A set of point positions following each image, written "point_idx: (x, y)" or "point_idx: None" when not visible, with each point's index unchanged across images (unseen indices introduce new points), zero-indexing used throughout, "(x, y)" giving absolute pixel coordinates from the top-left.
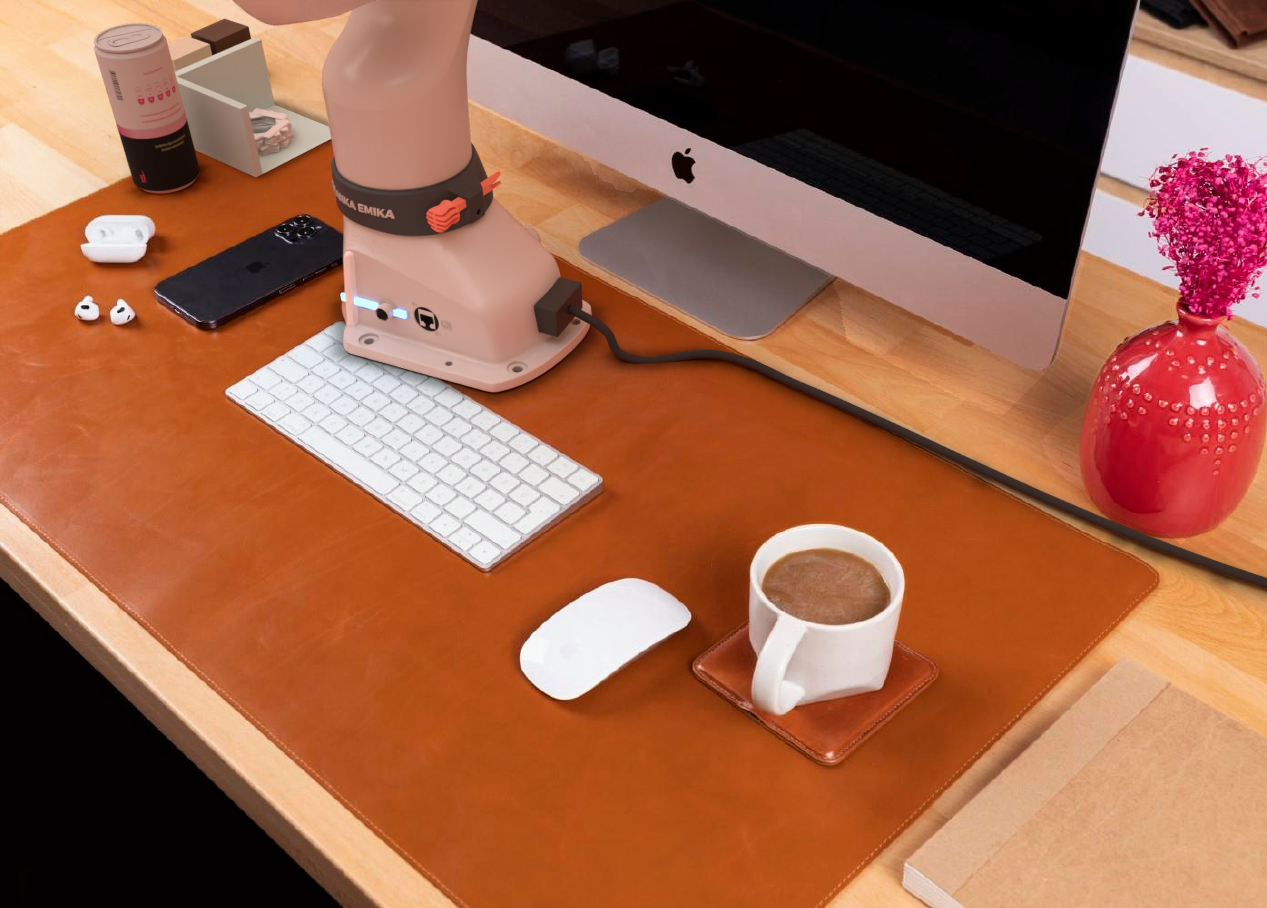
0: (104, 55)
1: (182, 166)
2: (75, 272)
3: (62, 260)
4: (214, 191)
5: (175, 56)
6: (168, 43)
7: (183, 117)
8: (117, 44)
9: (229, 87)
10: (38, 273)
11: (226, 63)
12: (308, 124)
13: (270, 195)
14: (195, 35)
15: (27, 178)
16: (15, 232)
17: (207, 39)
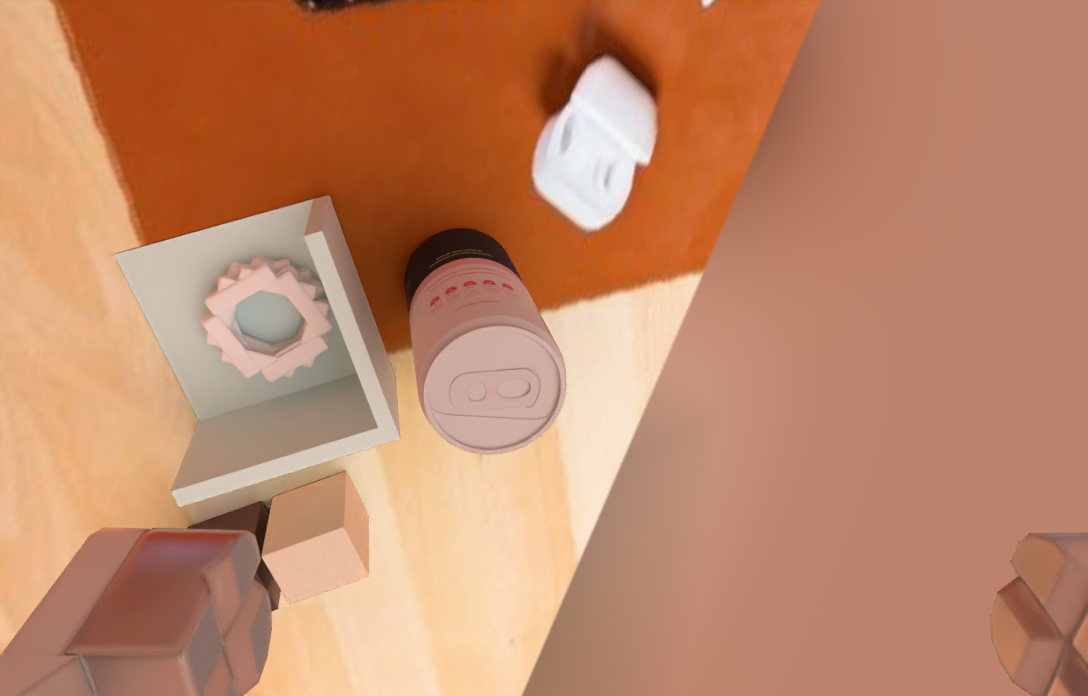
0: (560, 355)
1: (448, 240)
2: (688, 89)
3: (687, 138)
4: (410, 194)
5: (335, 538)
6: (327, 589)
7: (423, 285)
8: (526, 374)
9: (277, 428)
10: (727, 124)
11: (266, 454)
12: (166, 321)
13: (330, 117)
14: (272, 598)
15: (625, 399)
16: (701, 260)
17: (258, 575)
